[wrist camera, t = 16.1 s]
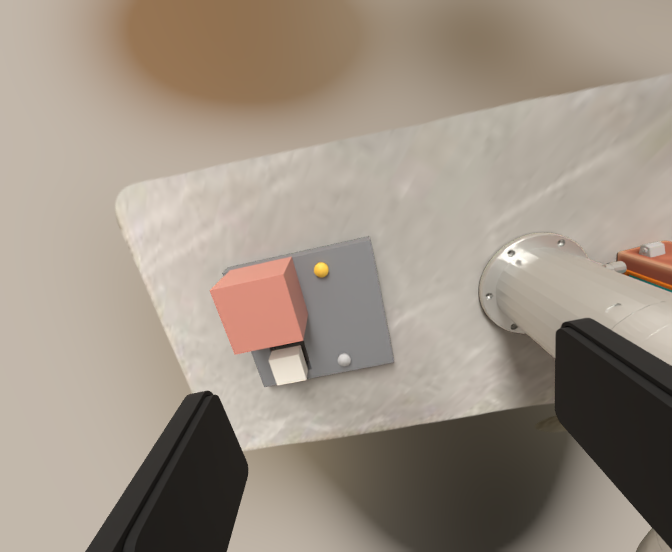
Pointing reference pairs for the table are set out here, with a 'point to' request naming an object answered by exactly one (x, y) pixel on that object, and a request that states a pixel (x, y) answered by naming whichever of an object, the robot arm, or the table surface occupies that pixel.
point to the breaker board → (337, 310)
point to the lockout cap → (261, 305)
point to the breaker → (288, 365)
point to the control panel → (650, 264)
